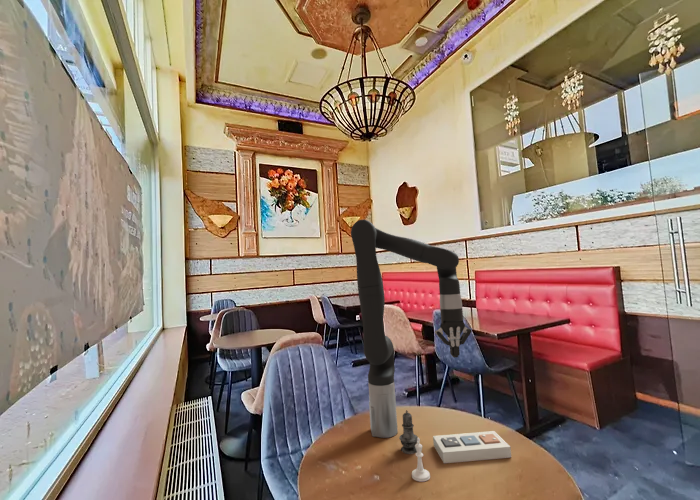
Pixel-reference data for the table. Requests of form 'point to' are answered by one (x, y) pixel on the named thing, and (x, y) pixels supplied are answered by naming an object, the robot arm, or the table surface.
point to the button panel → (471, 449)
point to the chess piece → (420, 466)
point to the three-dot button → (450, 442)
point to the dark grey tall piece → (408, 435)
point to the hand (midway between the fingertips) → (455, 356)
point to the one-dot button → (469, 440)
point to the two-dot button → (489, 439)
